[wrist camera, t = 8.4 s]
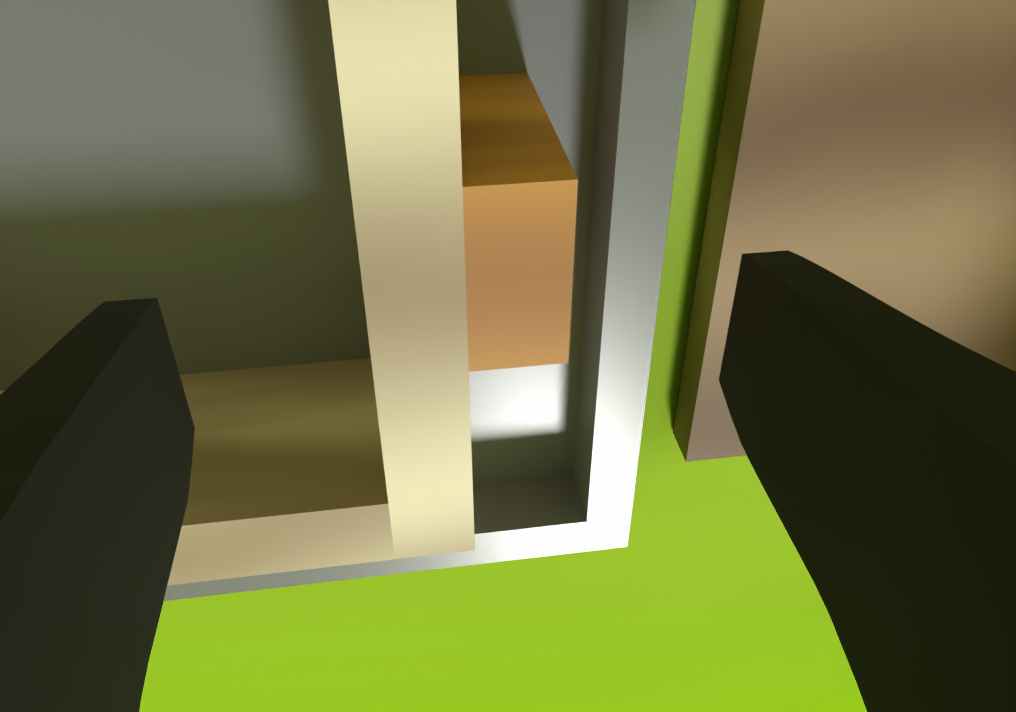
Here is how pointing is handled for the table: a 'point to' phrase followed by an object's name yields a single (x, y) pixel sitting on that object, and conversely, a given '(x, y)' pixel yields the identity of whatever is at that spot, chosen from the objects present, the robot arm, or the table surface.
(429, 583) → the table surface
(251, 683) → the table surface
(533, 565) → the table surface
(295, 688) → the table surface
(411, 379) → the cream square frame
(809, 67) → the stake board
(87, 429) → the robot arm
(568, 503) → the tray
